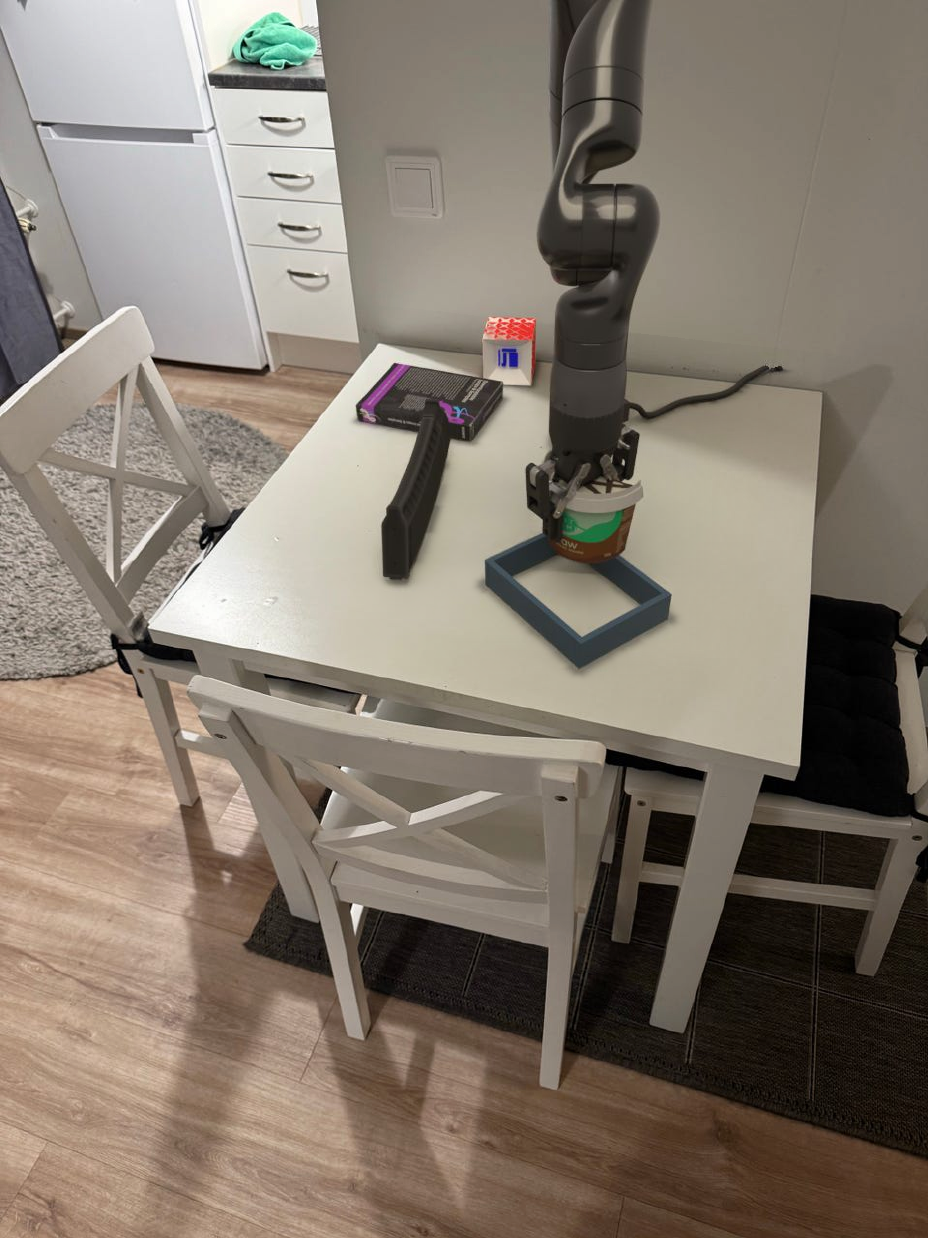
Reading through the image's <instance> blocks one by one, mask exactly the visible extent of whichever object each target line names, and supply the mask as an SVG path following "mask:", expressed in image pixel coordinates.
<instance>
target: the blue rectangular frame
mask: <svg viewBox="0 0 928 1238" xmlns="http://www.w3.org/2000/svg"><path fill="white" fill-rule="evenodd" d="M557 555H559V554H558V553H556V552H555V551H554V549H553V548H552V547H551V546H550V543H549V538H548V537H547V536H545V535H544V534H543V532H541V533H539V534H536V535H534V536H532V537H530V538H528V539H526V540H523V541H522V542H520V543H518V544H516V545H514V546H511V547H509V548H507V549H505V550H503V551H501V552H498V553H496V554H494V555H492V556H490V557H488V558H485V559H484V581H485V582H484V583H485V586H486V587H487V588H489V590H490V591H492V592H493V593H494V594H495V595H496V596H497V597H498V598H499V599H501V601H503V602H504V603H505V604H506V605H507V606H509V608H511V609H512V610H513V611H514V612H515V613H516V614H517V615H519V617H521V618H522V620H523V621H525V622H526V623H527V624H529V625H530V627H532V628H533V629H534V630H535V631H536V632H537V633H538V634H540V635H541V636H542V637H543V638H544V639H545V640H546V641H547V642H549V644H551V645H552V646H553V647H554V648H555V649H556V650H557V651H559V652H560V653H561V654H562V655H563V656H564V657H565V658H567V660H569V662H571V663H572V664H573V665H574V666H575V667H576V668H577V669H582V668H583V667H586V666H587V665H589V664H590V663H593V662H594V661H596V660H598V659H599V658H601V657H604V656H605V655H607V654H608V653H610V652H612V651H614V650H615V649H617V648H619V647H621V646H623V645H624V644H626V643H628V642H630V641H632V640H634V639H635V638H637V637H638V636H640V635H642V634H644V633H647V631H649V630H652V629H653V628H654V627H656V626H658V625H661V624H662V623H664V622H665V621H668V620H669V614H670V609H671V601H672V596H673V595H672V593H671V592H670V591H668V590H667V589H666V588H664V587H663V586H662V585H660V584H659V583H658V582H656V581H655V580H653V578H651V577H650V576H648V575H647V574H645V573H644V572H643V571H642V570H640V569H639V568H638V567H636V566H635V565H634V564H632V563H631V562H629V560H628V559H626V558H624V557H623V556H622V555H621V554H620V555H618V556H617V557H615V558H613V559H610V560H607V561H604V562H599V563H587V564H588V565H589V566H590V567H592V568H593V569H594V570H595V571H597V572H598V573H599V574H601V575H602V576H603V577H604V578H606V579H607V580H608V581H610V582H611V583H613V584H614V585H615V586H616V587H617V588H618V589H620V590H621V591H622V592H624V593H625V594H627V595H628V596H629V597H630V598H632V599H633V600H634V601H635V602H636V603H638V604H639V605H638V606H636V607H634V608H632V609H631V610H628V611H626V612H625V613H623V614H622V615H619V616H618V617H616V618H614V619H612V620H610V621H608V622H607V623H604V624H603V625H601V626H599V627H597V628H595V629H594V630H592V631H590V632H588V633H586V634H584V635H580V634H579V633H578V632H577V631H576V630H574V629H573V628H572V627H571V626H570V625H569V624H567V622H565V621H564V620H563V619H562V618H561V617H560V616H558V615H557V614H556V613H555V612H554V611H553V610H551V608H549V607H548V606H547V605H545V604H544V602H542V600H540V599H539V598H537V597H536V596H535V595H534V594H533V593H532V592H530V590H528V589H527V588H526V587H525V586H524V585H522V583H520V582H519V581H518V580H517V579H515V578H514V576H516V575H518V574H521V573H522V572H524V571H526V570H528V569H530V568H532V567H535V566H537V565H538V564H540V563H542V562H544V561H547V560H549V559H551V558H554V557H555V556H557Z"/></svg>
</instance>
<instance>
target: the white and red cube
mask: <svg viewBox="0 0 928 1238" xmlns="http://www.w3.org/2000/svg"><path fill="white" fill-rule="evenodd" d="M536 342H537V318H536V317H501V316H500V317H499V316H488V317H487V321H486V325H485V329H484V332H483V335H482V339H481V348H482V378H485V379H491V380H496V381H502V382H503V386H504V385H506V386H509V385H511V386H532V385H533V379H534V371H535V368H536V350H537V349H536V344H537V343H536Z"/></svg>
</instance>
